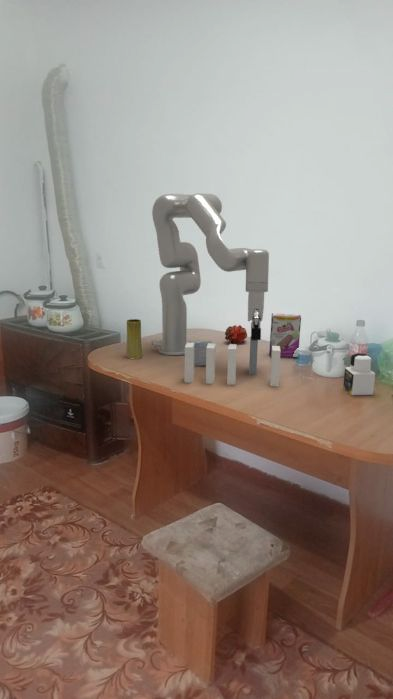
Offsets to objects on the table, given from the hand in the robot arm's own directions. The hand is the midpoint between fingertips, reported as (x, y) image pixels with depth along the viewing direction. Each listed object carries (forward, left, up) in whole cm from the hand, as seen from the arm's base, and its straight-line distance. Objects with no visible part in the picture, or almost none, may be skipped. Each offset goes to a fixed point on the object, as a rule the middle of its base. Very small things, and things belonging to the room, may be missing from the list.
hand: (255, 336), depth 178 cm
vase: (-46, +12, -13) cm, 49 cm away
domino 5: (+6, -12, -13) cm, 18 cm away
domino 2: (-15, -12, -13) cm, 23 cm away
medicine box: (-20, +6, -13) cm, 24 cm away
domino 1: (-22, -12, -13) cm, 28 cm away
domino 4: (-1, 0, -13) cm, 13 cm away
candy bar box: (+11, +22, -13) cm, 28 cm away
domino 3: (-8, -12, -13) cm, 19 cm away
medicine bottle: (+32, -16, -13) cm, 38 cm away
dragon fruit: (-8, +40, -13) cm, 43 cm away
